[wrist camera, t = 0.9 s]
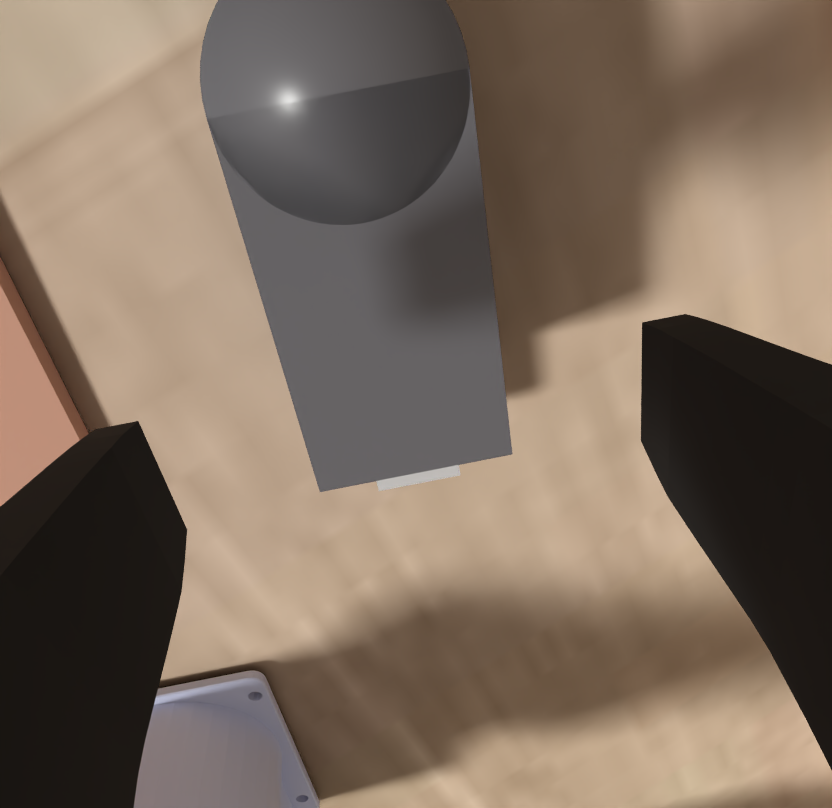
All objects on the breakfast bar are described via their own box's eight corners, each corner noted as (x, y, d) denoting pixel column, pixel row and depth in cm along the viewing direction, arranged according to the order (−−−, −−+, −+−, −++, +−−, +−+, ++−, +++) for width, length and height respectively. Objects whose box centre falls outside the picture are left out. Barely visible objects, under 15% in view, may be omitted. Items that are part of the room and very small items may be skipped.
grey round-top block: (481, 410, 21) (519, 520, 17) (336, 438, 21) (339, 556, 17) (415, -75, 15) (451, -93, 10) (208, -35, 15) (160, -38, 10)
